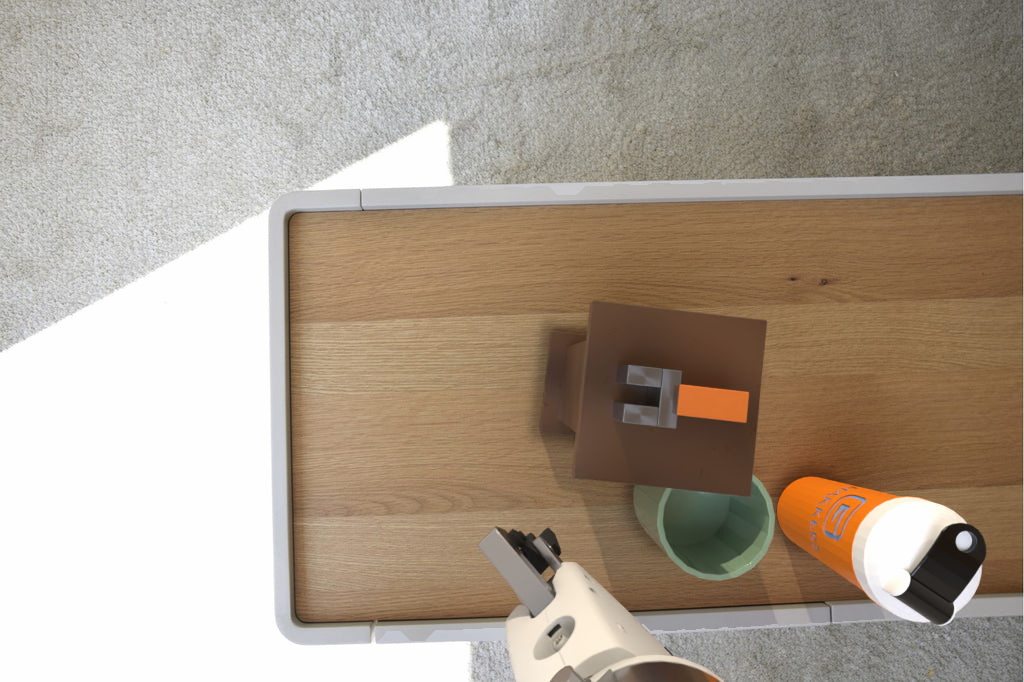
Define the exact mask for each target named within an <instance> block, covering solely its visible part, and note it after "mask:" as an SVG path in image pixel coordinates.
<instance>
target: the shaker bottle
mask: <svg viewBox="0 0 1024 682" xmlns="http://www.w3.org/2000/svg"><path fill="white" fill-rule="evenodd" d="M776 517H777V521H778V524H779V527H780V529H781V530H782V532H783V535H785V536H786V537H787V539H789V541H791V542H792V543H794V544H795V545H797V546H798V547H799V548H801V549H802V550H803V551H805V552H807V553H808V554H810V555H811V556H812V557H814V558H815V559H817V560H818V561H820V562H821V563H823V564H824V565H825V566H827V567H828V568H829V569H831V570H832V571H834V572H836V573H837V574H838V575H840V576H841V577H842V578H844V579H845V580H847V581H848V582H850V583H851V584H853V585H854V586H856V587H857V588H858V589H859V590H861V591H862V592H864V594H865V595H866V596H867V598H869V599H870V600H871V601H872V602H874V603H875V604H876V605H877V606H879V607H880V608H883V609H885V610H886V611H888V612H890V614H893V615H895V616H897V617H899V618H901V619H904V620H906V621H907V620H908V621H910V622H915V623H932V624H933V625H936V626H938V627H939V626H940V627H942V626H946V625H948V624H950V623H951V622H952V621H954V618H955V616H956V613H958V612H959V611H961V609H962V608H964V607H965V606H966V605H967V604H968V603H969V602H970V601H971V599H972V598H973V596H974V595H975V594H976V591H977V589H978V588H979V585H980V582H981V578H982V572H983V571H982V570H983V563H984V562H985V560H986V558H987V553H988V552H987V544H986V541H985V538H984V535H983V534H982V532H981V531H980V529H979V528H977V527H975V526H974V525H972V524H971V523H967V521H966V520H965V519H964V518H963V517H962V516H961V515H959V514H958V513H957V512H956V511H955V510H953V509H951V508H949V507H948V506H945V505H944V504H940V503H937V502H933V501H931V500H929V499H925V498H922V497H918V496H910V495H909V496H907V495H905V496H901V495H896V494H891V493H887V492H883V491H878V490H874V489H871V488H865V487H861V486H857V485H853V484H850V483H845V482H844V483H843V482H840V481H836V480H831V479H827V478H823V477H818V476H804V477H801V478H798V479H796V480H794V481H792V482H791V483H790V484H788V485H787V486H786V487H785V488H784V490H783V491H782V492H781V495H780V496H779V498H778V502H777V505H776Z"/></svg>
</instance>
